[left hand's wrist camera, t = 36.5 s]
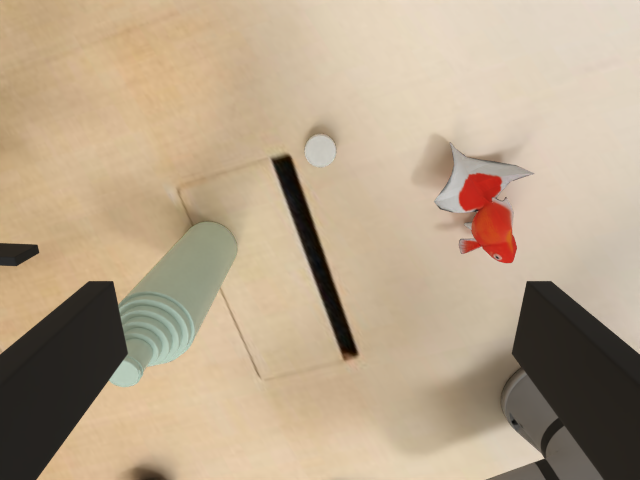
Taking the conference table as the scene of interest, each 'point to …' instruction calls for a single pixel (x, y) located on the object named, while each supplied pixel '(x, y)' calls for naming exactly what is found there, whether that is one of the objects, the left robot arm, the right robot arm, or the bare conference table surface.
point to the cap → (320, 150)
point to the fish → (482, 203)
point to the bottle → (173, 300)
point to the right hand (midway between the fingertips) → (44, 326)
